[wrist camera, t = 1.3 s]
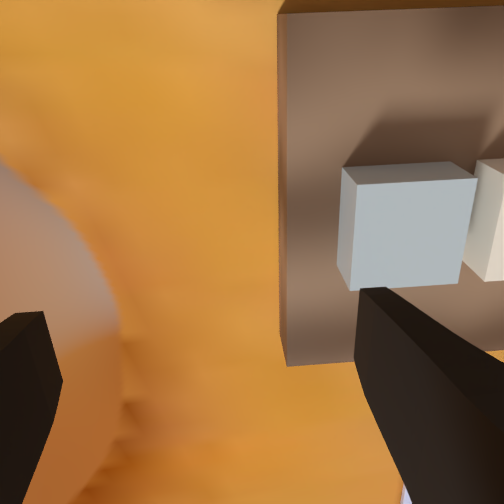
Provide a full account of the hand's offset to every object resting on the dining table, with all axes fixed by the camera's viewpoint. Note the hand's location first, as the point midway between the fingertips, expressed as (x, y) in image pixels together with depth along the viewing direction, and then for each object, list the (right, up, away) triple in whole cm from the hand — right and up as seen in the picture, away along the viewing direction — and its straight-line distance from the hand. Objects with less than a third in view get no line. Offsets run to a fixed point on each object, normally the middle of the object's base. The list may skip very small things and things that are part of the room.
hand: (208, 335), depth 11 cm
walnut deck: (+9, +5, +9) cm, 14 cm away
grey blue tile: (+6, +3, +7) cm, 10 cm away
